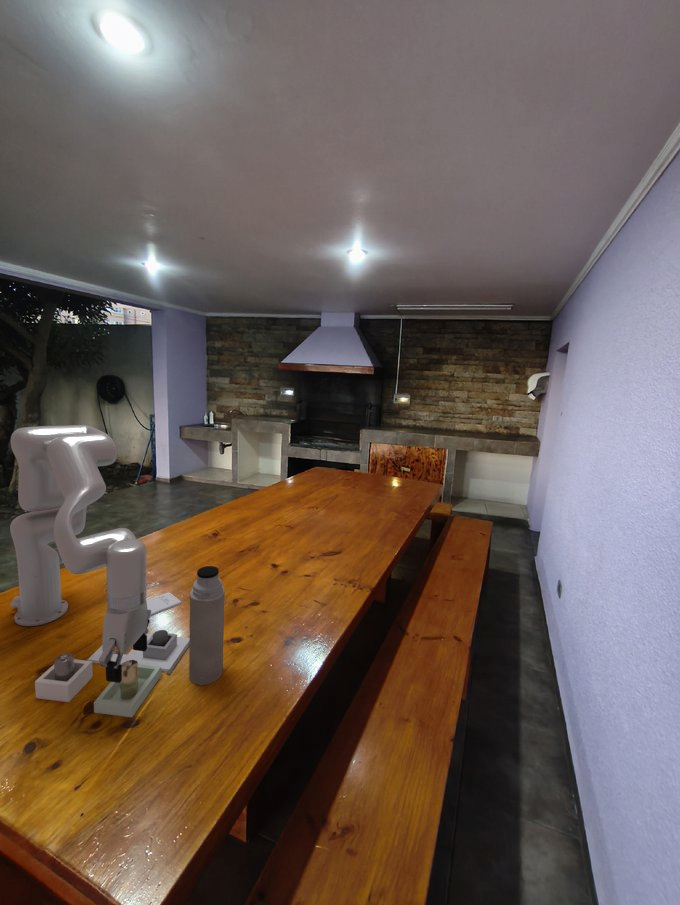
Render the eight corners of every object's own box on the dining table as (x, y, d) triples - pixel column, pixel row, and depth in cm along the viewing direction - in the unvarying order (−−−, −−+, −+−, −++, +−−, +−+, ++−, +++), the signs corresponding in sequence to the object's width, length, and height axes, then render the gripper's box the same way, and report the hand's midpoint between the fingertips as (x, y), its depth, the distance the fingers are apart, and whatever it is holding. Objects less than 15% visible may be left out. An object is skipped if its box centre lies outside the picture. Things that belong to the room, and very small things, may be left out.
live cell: (117, 698, 88) (116, 667, 86) (126, 686, 91) (125, 656, 90) (132, 700, 87) (131, 669, 86) (141, 688, 91) (141, 657, 89)
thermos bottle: (195, 660, 102) (196, 561, 97) (226, 662, 102) (229, 563, 97) (184, 684, 94) (185, 577, 89) (217, 685, 94) (220, 579, 89)
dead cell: (51, 691, 88) (49, 660, 86) (63, 679, 91) (62, 649, 90) (67, 693, 88) (65, 662, 86) (78, 681, 91) (77, 651, 90)
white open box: (36, 701, 86) (34, 681, 85) (62, 675, 94) (61, 657, 93) (69, 705, 86) (68, 685, 85) (92, 679, 93) (92, 661, 92)
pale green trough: (94, 715, 84) (93, 702, 83) (127, 674, 96) (127, 662, 95) (132, 720, 83) (131, 707, 83) (161, 678, 95) (161, 666, 95)
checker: (87, 664, 98) (87, 648, 97) (117, 634, 109) (117, 620, 109) (169, 674, 97) (169, 658, 96) (190, 642, 108) (190, 628, 108)
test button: (149, 651, 101) (149, 638, 100) (157, 642, 104) (157, 629, 103) (163, 653, 100) (163, 639, 100) (170, 644, 104) (170, 630, 103)
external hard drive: (129, 610, 122) (168, 595, 131) (142, 622, 116) (181, 605, 126) (129, 605, 121) (168, 591, 131) (141, 617, 116) (181, 601, 126)
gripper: (133, 574, 94) (134, 637, 97) (82, 618, 77) (84, 692, 80) (164, 578, 93) (163, 641, 97) (119, 623, 76) (120, 697, 80)
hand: (127, 664), depth 88 cm, fingers open, 9 cm apart
